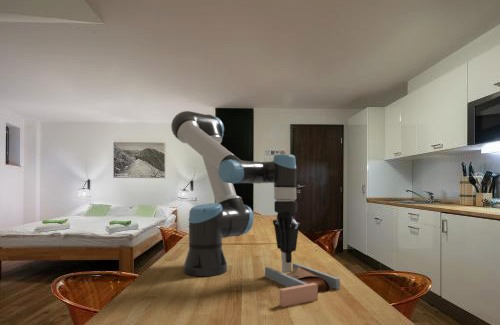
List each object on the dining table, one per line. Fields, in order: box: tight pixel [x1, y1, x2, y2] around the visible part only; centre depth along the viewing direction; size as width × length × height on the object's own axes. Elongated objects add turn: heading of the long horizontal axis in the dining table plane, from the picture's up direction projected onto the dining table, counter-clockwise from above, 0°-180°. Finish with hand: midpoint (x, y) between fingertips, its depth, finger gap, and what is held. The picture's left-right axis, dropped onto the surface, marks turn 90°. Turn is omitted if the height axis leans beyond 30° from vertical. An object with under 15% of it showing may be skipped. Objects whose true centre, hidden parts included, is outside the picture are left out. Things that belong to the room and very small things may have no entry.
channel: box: [264, 262, 341, 290], centre depth 105 cm, size 12×22×3 cm, turn 28°
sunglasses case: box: [285, 266, 331, 293], centre depth 104 cm, size 18×7×7 cm
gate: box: [278, 283, 319, 308], centre depth 87 cm, size 11×2×4 cm, turn 118°
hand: (286, 271), depth 112 cm, fingers closed
